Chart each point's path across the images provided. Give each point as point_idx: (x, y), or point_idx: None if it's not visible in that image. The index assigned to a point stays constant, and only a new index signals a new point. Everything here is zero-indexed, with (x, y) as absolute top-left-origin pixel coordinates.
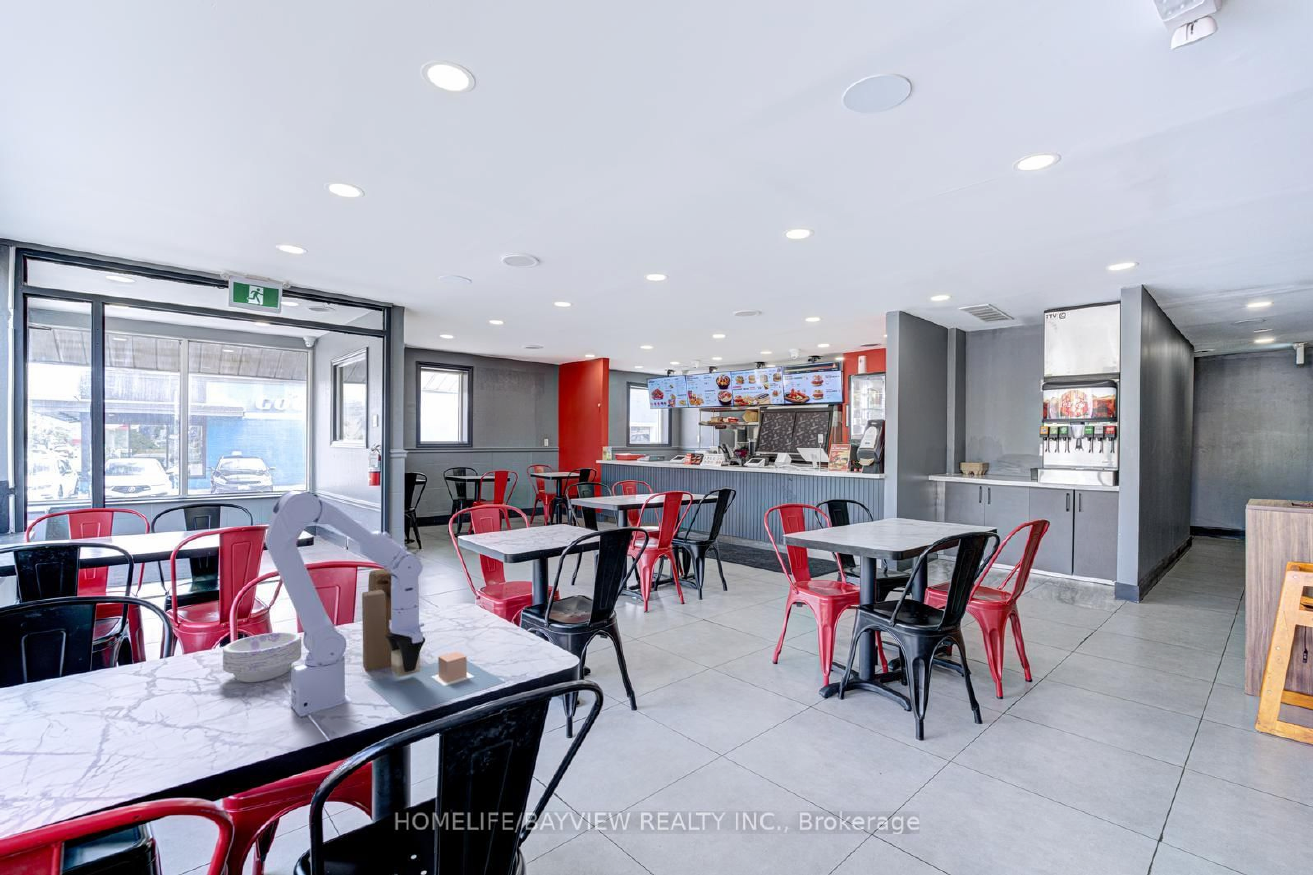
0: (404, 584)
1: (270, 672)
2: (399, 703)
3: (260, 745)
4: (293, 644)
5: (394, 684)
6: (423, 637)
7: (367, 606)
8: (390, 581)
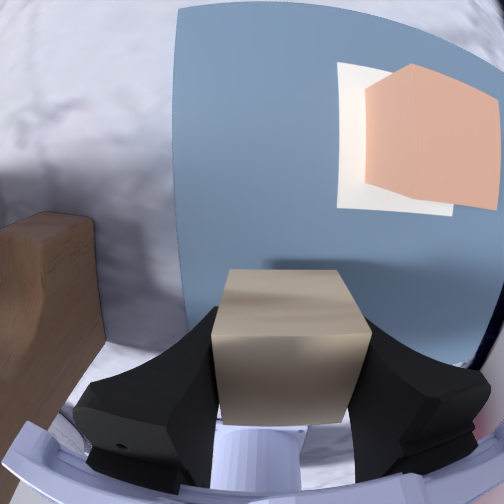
0: None
1: (78, 443)
2: (430, 357)
3: (338, 480)
4: None
5: None
6: (465, 395)
7: None
8: None
